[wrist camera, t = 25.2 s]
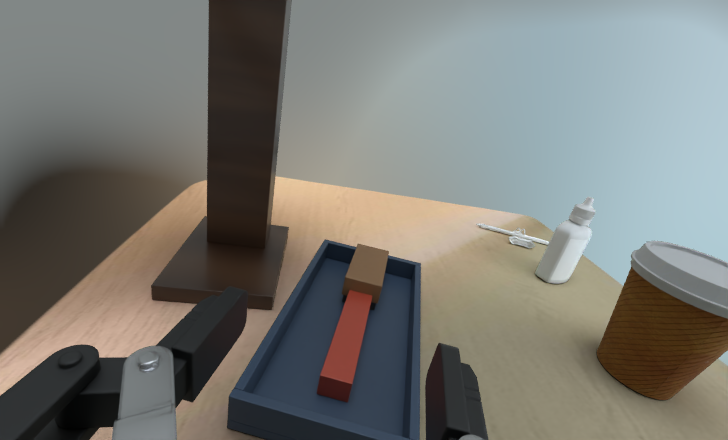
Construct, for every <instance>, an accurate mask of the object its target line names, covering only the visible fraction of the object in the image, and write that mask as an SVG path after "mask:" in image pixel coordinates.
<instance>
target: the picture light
mask: <svg viewBox="0 0 728 440" xmlns="http://www.w3.org/2000/svg"><path fill="white" fill-rule="evenodd" d="M476 225H477V226H479V227H482V228H485V229H489V230H493V231H496V232H500V233H504V234H508V235H512V237H509V241H510V242H511V243H512V244H517V245H521V246H525V247H527V248H532V247H535V244H534V243H533V242H532V241H535V242H538V243H542V244H546V245H548V244H549V241H545V240H542V239H538V238H534V237H530V236H526V235H525V229H522V230H524V235H522V232H521V231H522V230H521V231H520V228H519V232H518V231H516V230H517V229H518V228H517V229H516V230H515V231H513V232H511V231H507V230H503V229H499V228H496V227H492V226H488V225H485V224H476ZM522 238H523V239H522ZM526 239H527V240H526Z"/></svg>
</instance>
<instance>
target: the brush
mask: <svg viewBox="0 0 728 440" xmlns="http://www.w3.org/2000/svg"><path fill="white" fill-rule="evenodd" d="M388 254H389V251H385V250H381V249H377V248H373V247H369V246H365V245H361V244H358V245H357V248H356V250H355V253H354V255H353V258H352V260H351V263H350V266H349V268H348V271H347V273H346V276H345V279H344V284H343V289H342V295H343V298H342V302H344V303H345V304H344V307H343V310H342V313H341V316H340V319H339V322H338V325H337V327H336V330H335V333H334V336H333V339H332V342H331V345H330V348H329V351H328V354H327V356H326V359H325V362H324V365H323V368H322V371H321V374H320V378H319V383H318V388H317V394H319V395H323V396H326V397H330V398H333V399H337V400H340V401H344V402H348V400H349V396H350V392H351V388H352V384H353V379H354V375H355V371H356V366H357V362H358V358H359V353H360V349H361V344H362V340H363V336H364V331H365V327H366V322H367V318H368V314H369V309H370V310H375V306H376V303H378V301H379V297H380V293H381V289H382V285H383V280H384V275H385V270H386V264H387V259H388Z"/></svg>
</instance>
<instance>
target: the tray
mask: <svg viewBox="0 0 728 440" xmlns="http://www.w3.org/2000/svg"><path fill="white" fill-rule="evenodd" d="M356 248H357V247H353V246H349V245H345V244H341V243H337V242H333V241H329V240H324V242H323V243H322V245H321V247H320V248H319V250H318V251H317V253H316V255H315V256H314V258H313V260H312V261H311V263H310V264H309V266H308V268H307V269H306V271H305V273H304V274H303V276H302V278H301V279H300V281H299V282H298V284H297V286H296V287H295V289H294V291H293V292H292V294H291V296H290V297H289V299H288V300H287V302H286V304H285V305H284V307H283V309H282V310H281V312H280V314H279V315H278V317H277V318H276V320H275V322H274V323H273V325H272V327H271V328H270V330H269V332H268V333H267V335H266V336H265V338H264V340H263V341H262V343H261V345H260V346H259V348H258V350H257V351H256V353H255V354H254V356H253V358H252V359H251V361H250V363H249V364H248V366H247V367H246V369H245V371H244V372H243V374H242V376H241V377H240V379H239V381H238V382H237V384H236V385H235V387H234V389H233V390H232V392H231V394H230V395H229V404H228V423H227V428H230V429H233V430H237V431H240V432H243V433H247V434H250V435H253V436H257V437H260V438H264V439H267V440H419V431H420V294H421V264H420V263H417V262H413V261H409V260H405V259H401V258H397V257H393V256H389V255H388V259H387V264H386V270H385V275H384V280H383V285H382V289H381V293H380V297H379V301H378V303H376V306H375V310H370V309H369V314H368V318H367V322H366V327H365V331H364V336H363V340H362V344H361V349H360V353H359V358H358V362H357V366H356V371H355V375H354V379H353V384H352V388H351V392H350V396H349V400H348V402H344V401H340V400H337V399H333V398H330V397H326V396H323V395H319V394H317V388H318V383H319V378H320V374H321V371H322V368H323V365H324V362H325V359H326V356H327V354H328V351H329V348H330V345H331V342H332V339H333V336H334V333H335V330H336V327H337V325H338V322H339V319H340V316H341V313H342V310H343V307H344V304H345V303H344V302H342V298H343V295H342V289H343V284H344V279H345V276H346V273H347V271H348V268H349V266H350V263H351V260H352V258H353V255H354V253H355V250H356Z"/></svg>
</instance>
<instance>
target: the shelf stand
mask: <svg viewBox="0 0 728 440" xmlns="http://www.w3.org/2000/svg"><path fill="white" fill-rule="evenodd" d="M291 2H292V0H209V50H208V51H209V53H208V56H209V58H208V157H207V160H208V162H207V169H208V170H207V217H206V216H205V217H204V218H203V219H202V221H201V222H200V223H199V225H198V226H197V227H196V228H195V230H194V231H193V232H192V234H191V235H190V236H189V237H188V239H187V240H186V241H185V243H184V244H183V245H182V247H181V248H180V249H179V250H178V252H177V253H176V254H175V256H174V257H173V258H172V259H171V261H170V262H169V263H168V265H167V266H166V267H165V268H164V270H163V271H162V272H161V274H160V275H159V276H158V277H157V279H156V280H155V281H154V283H153V284H152V285H151V288H152V299H153V300H165V301H176V302H188V303H199V302H200V301H202V300H203V299H205V298H207V297H209V296H211V295H215V296H220V295H221V293H222V292H223V291H224V290H225V289H226V288H227V287H229V286H231V287H235V288H239V289H243V290H246V291H248V303H247V308H258V309H269V310H272V307H273V302H274V298H275V293H276V288H277V284H278V279H279V275H280V270H281V265H282V261H283V256H284V251H285V247H286V242H287V238H288V230H289V227H284V226H276V225H271V217H272V206H273V196H274V185H275V174H276V164H277V153H278V142H279V131H280V121H281V110H282V99H283V88H284V78H285V67H286V55H287V46H288V34H289V23H290V13H291Z"/></svg>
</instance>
